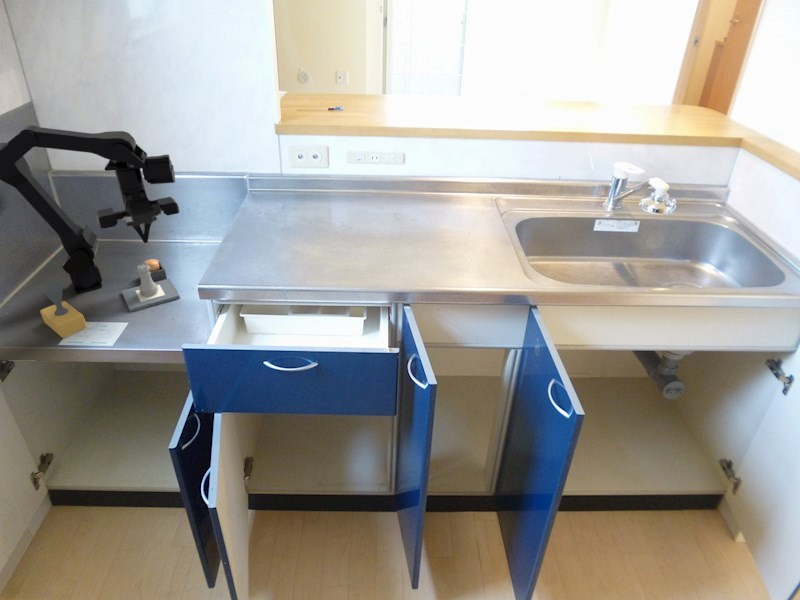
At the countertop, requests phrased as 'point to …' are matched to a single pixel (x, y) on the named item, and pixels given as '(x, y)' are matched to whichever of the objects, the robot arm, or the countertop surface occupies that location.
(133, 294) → the slate board
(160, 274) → the button housing
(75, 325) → the rubber stamp
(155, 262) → the button
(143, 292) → the rook chess piece
